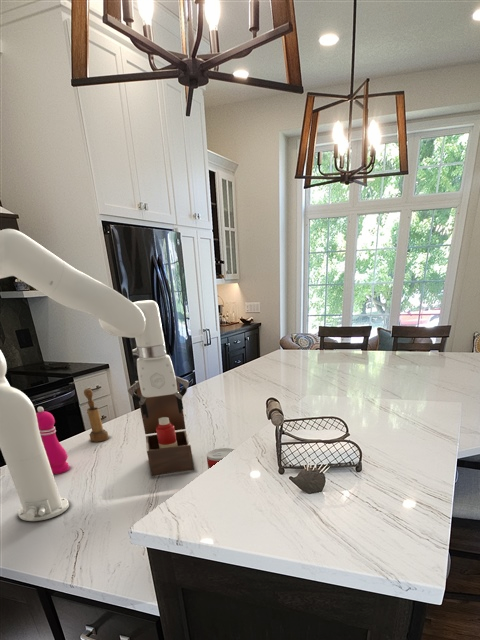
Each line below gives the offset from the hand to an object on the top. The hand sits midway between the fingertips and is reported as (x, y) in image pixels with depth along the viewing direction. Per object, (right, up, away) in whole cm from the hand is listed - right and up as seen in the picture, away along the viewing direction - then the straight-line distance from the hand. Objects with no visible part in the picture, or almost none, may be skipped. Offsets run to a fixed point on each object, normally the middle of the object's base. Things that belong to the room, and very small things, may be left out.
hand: (163, 414), depth 138 cm
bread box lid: (-2, +4, +5) cm, 7 cm away
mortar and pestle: (-31, +2, +37) cm, 48 cm away
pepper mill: (-36, -14, +12) cm, 40 cm away
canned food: (+19, -24, -11) cm, 33 cm away
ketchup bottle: (+1, -13, +8) cm, 15 cm away
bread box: (+1, -14, +8) cm, 16 cm away
